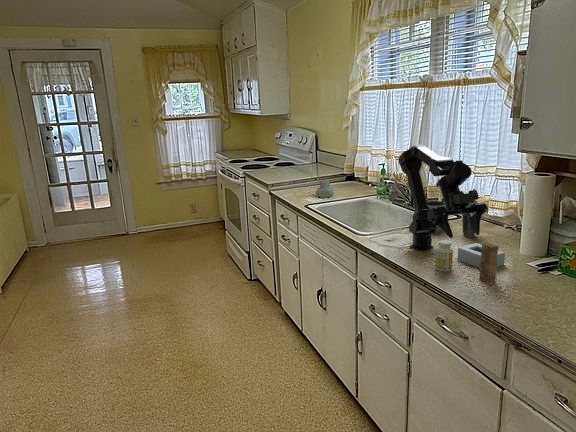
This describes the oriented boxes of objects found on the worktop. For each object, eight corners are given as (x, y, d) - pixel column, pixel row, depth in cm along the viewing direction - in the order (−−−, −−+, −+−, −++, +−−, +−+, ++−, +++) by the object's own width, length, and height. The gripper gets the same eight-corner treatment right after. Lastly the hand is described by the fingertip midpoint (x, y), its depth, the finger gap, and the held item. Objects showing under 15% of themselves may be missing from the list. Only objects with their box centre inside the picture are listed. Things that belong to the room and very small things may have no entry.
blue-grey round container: (446, 227, 191) (448, 201, 188) (444, 233, 182) (445, 206, 179) (423, 225, 195) (424, 199, 192) (420, 231, 186) (420, 205, 183)
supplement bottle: (439, 272, 143) (440, 245, 141) (432, 266, 148) (433, 240, 146) (454, 270, 144) (456, 243, 141) (447, 265, 149) (448, 238, 146)
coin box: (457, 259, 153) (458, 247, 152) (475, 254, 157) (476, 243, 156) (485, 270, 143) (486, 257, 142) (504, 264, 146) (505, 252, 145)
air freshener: (334, 195, 265) (333, 179, 262) (333, 198, 257) (333, 182, 254) (316, 195, 266) (316, 179, 264) (315, 198, 259) (315, 182, 256)
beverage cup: (455, 234, 180) (458, 188, 175) (469, 232, 183) (472, 186, 177) (468, 239, 174) (471, 191, 168) (482, 236, 176) (485, 189, 171)
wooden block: (479, 279, 136) (481, 243, 133) (485, 277, 137) (488, 242, 134) (488, 283, 133) (491, 247, 129) (495, 282, 133) (498, 246, 130)
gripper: (435, 183, 133) (449, 230, 127) (489, 179, 136) (505, 224, 130) (421, 199, 144) (433, 242, 138) (471, 194, 146) (486, 236, 141)
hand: (465, 236), depth 136 cm, fingers open, 9 cm apart
